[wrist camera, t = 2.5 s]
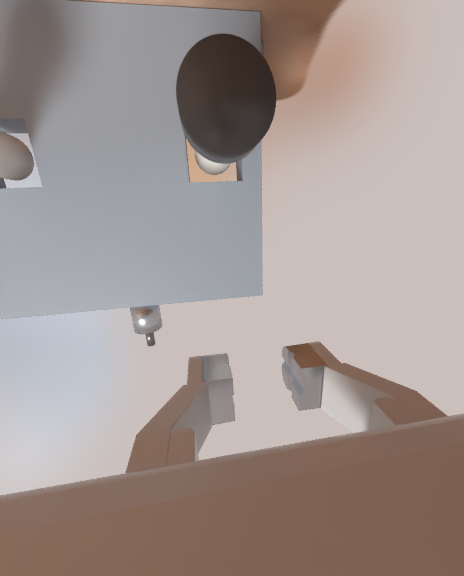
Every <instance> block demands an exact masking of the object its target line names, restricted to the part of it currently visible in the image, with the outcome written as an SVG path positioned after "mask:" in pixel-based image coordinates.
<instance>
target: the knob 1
mask: <svg viewBox="0 0 464 576" xmlns="http://www.w3.org/2000/svg"><path fill="white" fill-rule="evenodd" d="M33 167H34V162H33V157H32V154H31V152H30V150H29V149H28V147H27V146H26V145H25V144H24V143H23V142H22V141H20V140H19V139H17V138H15V137H13V136H11V135H9V134H6V133H4V132H2V131H0V178H5V179H10V180H23V179H25V178H27V177H28V176H29V175H30V174H31V172H32V170H33Z"/></svg>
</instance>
